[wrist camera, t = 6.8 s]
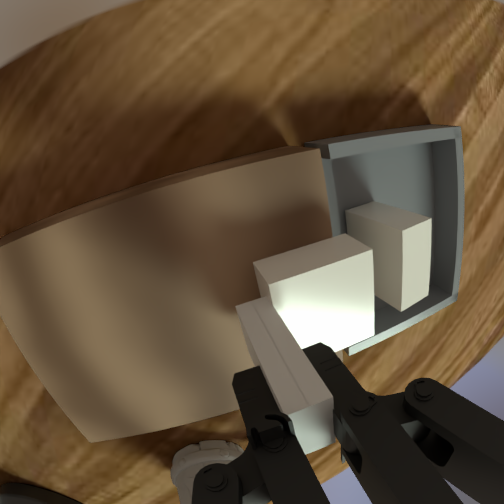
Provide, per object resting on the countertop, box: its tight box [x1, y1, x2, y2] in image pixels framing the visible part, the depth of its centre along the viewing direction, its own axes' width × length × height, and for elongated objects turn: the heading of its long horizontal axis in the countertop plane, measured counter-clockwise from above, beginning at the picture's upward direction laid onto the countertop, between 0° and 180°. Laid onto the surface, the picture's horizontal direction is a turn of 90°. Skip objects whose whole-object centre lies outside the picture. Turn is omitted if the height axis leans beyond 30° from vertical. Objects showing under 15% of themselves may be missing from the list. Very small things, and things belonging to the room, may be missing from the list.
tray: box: [304, 124, 464, 356], centre depth 20 cm, size 11×14×3 cm
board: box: [0, 146, 343, 443], centre depth 17 cm, size 18×14×4 cm
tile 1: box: [345, 201, 432, 312], centre depth 18 cm, size 5×5×2 cm
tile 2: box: [253, 233, 374, 352], centre depth 15 cm, size 5×5×2 cm
